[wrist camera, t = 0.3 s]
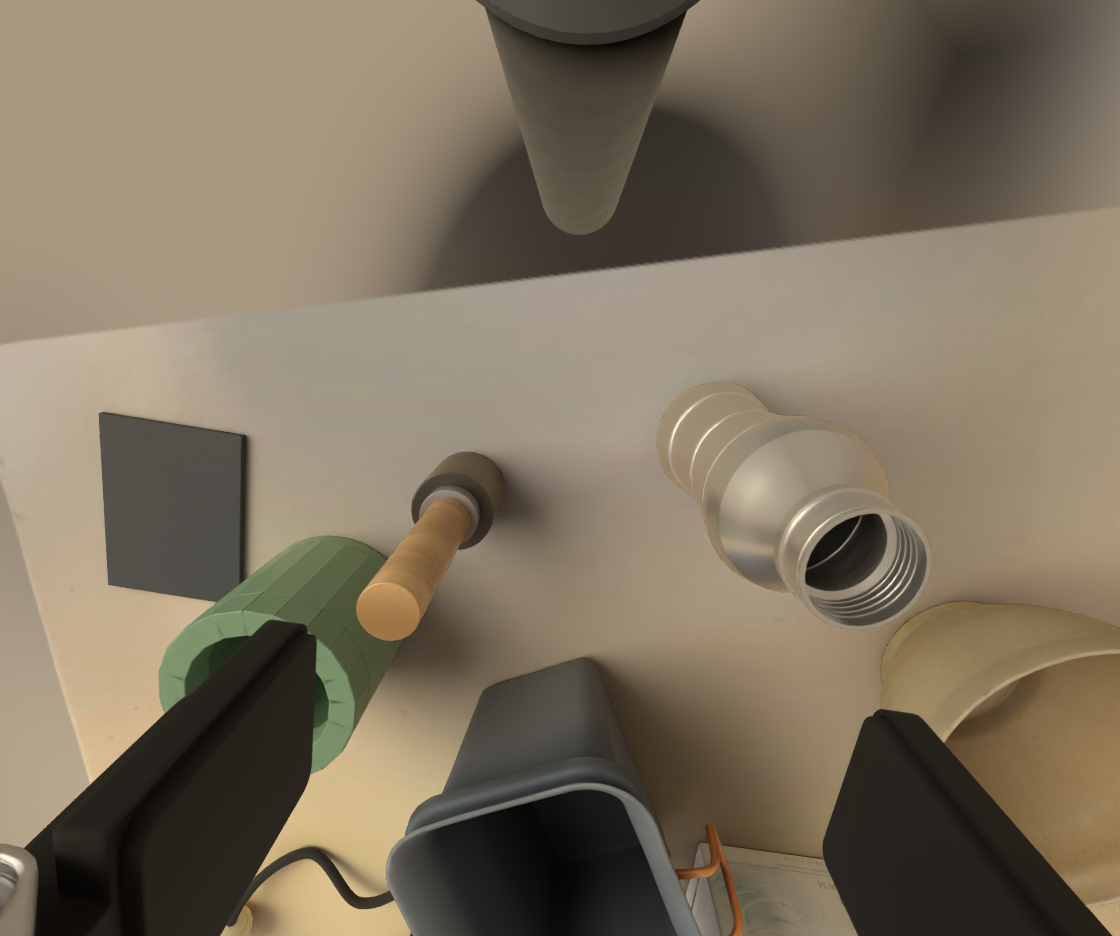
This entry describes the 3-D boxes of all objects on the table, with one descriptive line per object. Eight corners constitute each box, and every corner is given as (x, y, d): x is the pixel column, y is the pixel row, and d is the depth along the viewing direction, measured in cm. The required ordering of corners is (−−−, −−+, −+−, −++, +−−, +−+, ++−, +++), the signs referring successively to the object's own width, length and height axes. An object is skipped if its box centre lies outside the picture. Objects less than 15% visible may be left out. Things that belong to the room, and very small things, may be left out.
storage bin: (432, 665, 40) (354, 852, 26) (641, 598, 38) (679, 760, 24) (540, 887, 44) (524, 1143, 31) (729, 836, 43) (803, 1084, 29)
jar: (264, 524, 37) (155, 596, 27) (417, 548, 37) (361, 629, 28) (261, 657, 40) (160, 766, 30) (403, 679, 40) (348, 795, 30)
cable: (284, 798, 43) (260, 839, 40) (469, 889, 45) (460, 935, 42) (207, 926, 47) (178, 973, 43) (381, 1005, 48) (366, 1056, 45)
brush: (437, 446, 35) (329, 545, 20) (509, 457, 35) (457, 565, 20) (429, 513, 37) (323, 656, 21) (499, 525, 37) (443, 675, 21)
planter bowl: (806, 591, 37) (896, 699, 27) (1059, 524, 36) (1262, 610, 25) (850, 782, 41) (945, 941, 31) (1081, 729, 39) (1265, 879, 29)
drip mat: (103, 411, 35) (98, 412, 35) (244, 434, 36) (241, 436, 35) (112, 582, 39) (107, 585, 38) (242, 603, 39) (239, 606, 38)
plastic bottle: (635, 464, 35) (707, 641, 16) (674, 362, 34) (808, 419, 14) (730, 496, 36) (913, 705, 16) (774, 396, 34) (1036, 497, 15)
